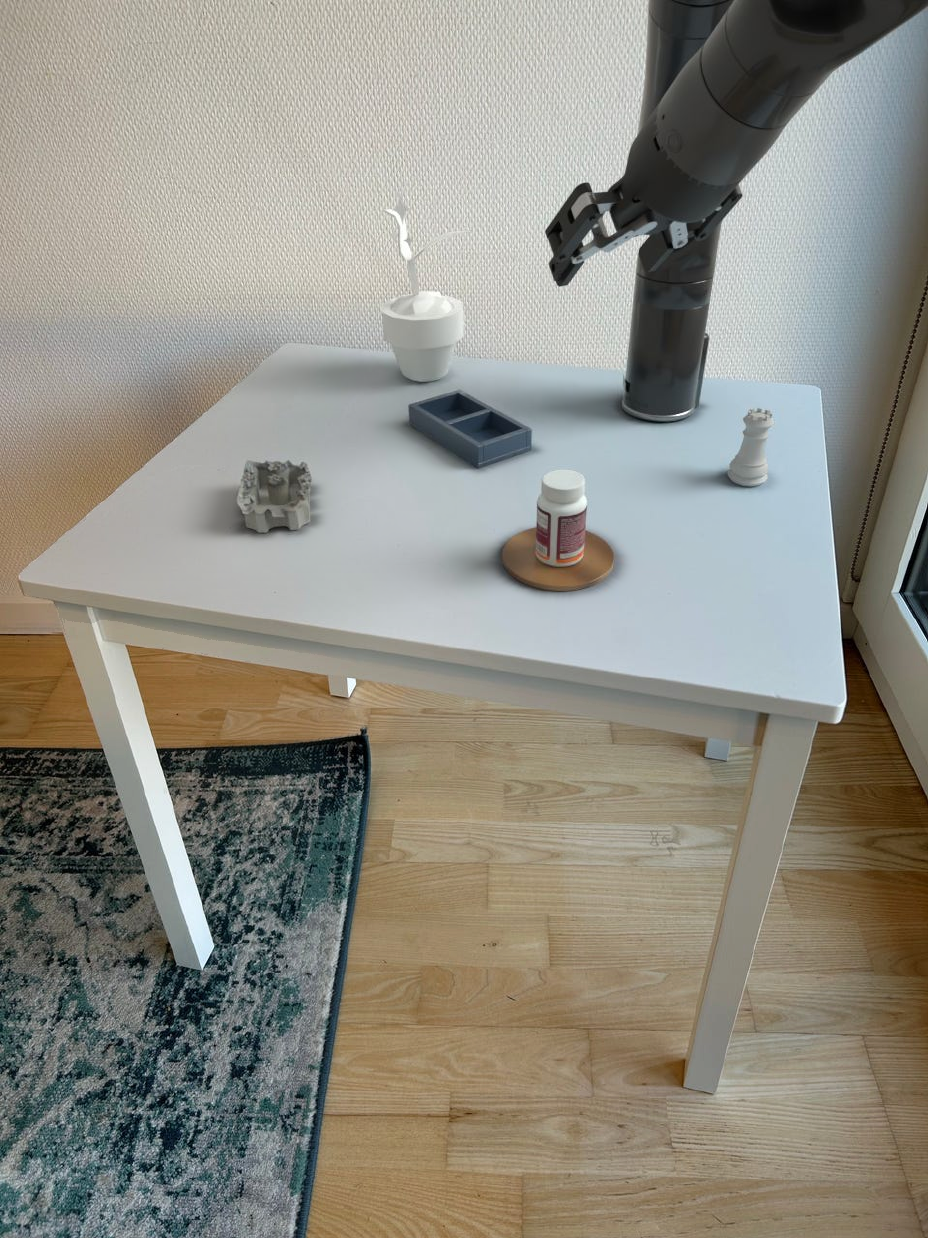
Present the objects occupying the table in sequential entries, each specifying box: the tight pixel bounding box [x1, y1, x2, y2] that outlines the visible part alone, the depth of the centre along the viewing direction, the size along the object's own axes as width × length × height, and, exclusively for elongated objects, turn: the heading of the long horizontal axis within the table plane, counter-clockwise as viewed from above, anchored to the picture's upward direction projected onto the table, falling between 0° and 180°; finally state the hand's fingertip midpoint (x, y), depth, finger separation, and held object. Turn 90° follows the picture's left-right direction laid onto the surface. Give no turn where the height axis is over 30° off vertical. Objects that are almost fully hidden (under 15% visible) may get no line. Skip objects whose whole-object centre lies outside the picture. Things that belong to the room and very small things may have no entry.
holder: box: [407, 389, 533, 469], centre depth 107 cm, size 8×15×3 cm, turn 35°
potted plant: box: [380, 193, 472, 383], centre depth 117 cm, size 13×12×25 cm
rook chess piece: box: [727, 407, 775, 488], centre depth 96 cm, size 4×4×8 cm
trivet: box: [501, 527, 615, 592], centre depth 85 cm, size 11×11×1 cm
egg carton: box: [236, 459, 312, 534], centre depth 93 cm, size 11×8×4 cm
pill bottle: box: [535, 469, 588, 567], centre depth 82 cm, size 5×5×8 cm
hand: (601, 268), depth 72 cm, fingers open, 8 cm apart
